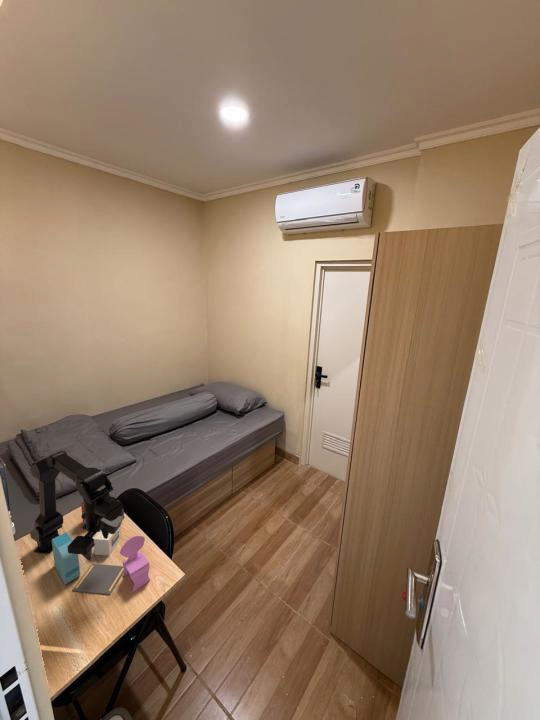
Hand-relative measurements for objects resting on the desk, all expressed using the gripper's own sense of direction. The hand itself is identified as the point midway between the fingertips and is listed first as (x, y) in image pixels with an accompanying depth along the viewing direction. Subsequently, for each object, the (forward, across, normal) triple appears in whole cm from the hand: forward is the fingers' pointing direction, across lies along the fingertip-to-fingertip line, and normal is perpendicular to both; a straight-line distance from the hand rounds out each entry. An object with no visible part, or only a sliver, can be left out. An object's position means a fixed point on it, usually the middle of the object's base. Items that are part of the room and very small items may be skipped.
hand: (98, 548), depth 97 cm
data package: (+13, +2, +13) cm, 19 cm away
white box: (+12, +13, +5) cm, 19 cm away
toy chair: (+13, +1, -12) cm, 18 cm away
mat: (+12, 0, 0) cm, 13 cm away
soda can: (+13, +24, +20) cm, 33 cm away
